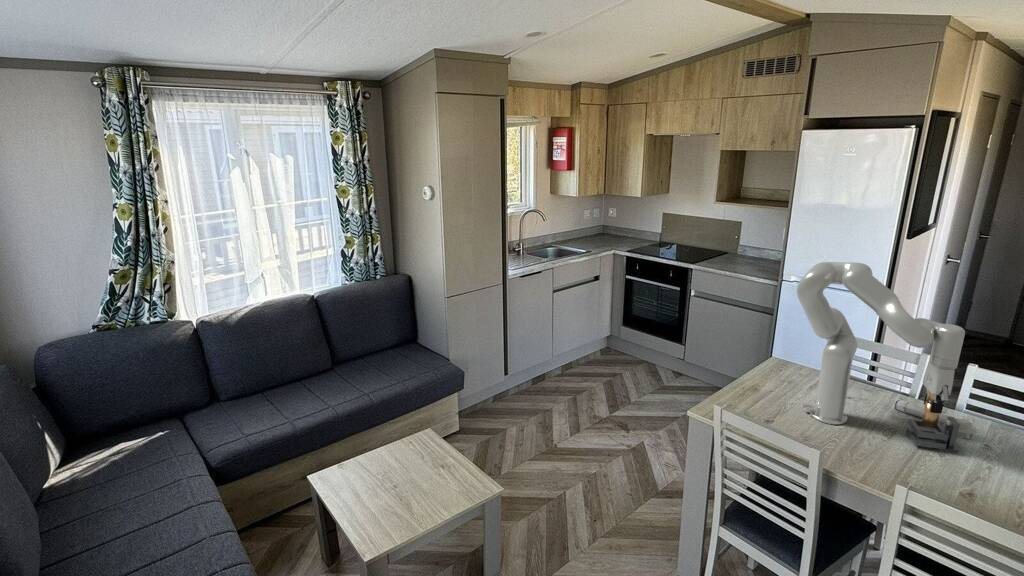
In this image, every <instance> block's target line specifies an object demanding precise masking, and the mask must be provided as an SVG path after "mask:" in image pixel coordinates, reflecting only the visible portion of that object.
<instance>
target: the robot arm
mask: <svg viewBox="0 0 1024 576" xmlns="http://www.w3.org/2000/svg"><path fill="white" fill-rule="evenodd" d="M830 285H843V287H845V288H846V289H847V290H848V291H849V292H850V293H852V294H853V295H854V296H855V297H857V298H858V299H860V301H862V303H864V304H865V305H867V306H868V307H869V308H870V309H871V310H873V311H874V312H875V314H876V315H877V316H878V317H879V318H880V319H881V320H882V322H883V323H884V324H885V325H886V326H887V327H888V328H889V329H890V330H891V331H892V332H893V333H894V334H895V335H897V336H898V337H899V338H901V339H902V340H903V341H904V342H906V343H907V344H909V345H910V346H912V347H914V348H917V349H918V348H919V349H921V348H922V349H923V348H927V347H929V346H930V345H932V347H931V351H930V354H929V359H928V363H927V365H926V368H925V372H924V375H923V379H922V385H923V386H924V387H925V388H926V390H925V397H924V401H923V405H924V406H925V403H926V399H927V394H928V390H929V391H930V392H931V394H933V395H934V401H932V404H931V408H930V412H931V413H940V414H943V413H942V412H943V408H944V404H945V403H946V402H948V401H949V396H951V393H952V390H953V385H954V379H955V378H954V377H955V369H957V368H958V365H959V361H960V356H961V352H962V348H963V344H964V340H965V339H964V338H965V335H966V330H965V329H964V328H963V327H961V326H959V325H957V324H952V323H951V324H950V323H942V322H938V321H935V320H932V319H928V318H923V317H918V318H914V317H913V316H912V315H910V314H909V312H908V311H906V309H905V308H904V306H903V305H902V303H901V301H900V299H899V297H898V295H896V293H895V292H894V291H892V290H891V289H890V288H888V286H886V285H884V284H883V283H882V282H881V281H880V280H879V279H877V278H876V277H875V276H874V275H873V270H872V269H871V267H870V266H868V265H867V264H865V263H862V262H847V261H844V262H843V261H841V262H840V261H839V262H838V261H837V262H836V261H823V262H818V263H816V264H815V265H813V266H812V267H811V268H810V269H809V270H808V271H807V272H806V273H805V274H804V275H803V276H802V278H801V279H800V280H799V282H798V284H797V288H796V289H797V290H796V295H797V298H798V300H799V303H800V305H801V306H802V309H803V311H804V313H805V315H806V317H807V320H808V321H809V324H810V326H811V328H812V330H813V332H814V334H815V335H816V336H817V337H818V338H821V339H823V340H826V344H825V345H824V348H823V350H822V355H821V365H820V366H821V367H820V374H819V380H818V381H819V382H818V385H817V386H818V387H817V394H816V400H813V402H811V403H808V402H801V408H803V409H804V408H805V410H806V411H808V412H809V415H810V416H811V417H812V418H813V419H815V420H816V421H819V422H822V423H824V424H827V425H828V424H830V425H843V424H845V423H847V422H848V415H847V414H846V413H845V412H844V411H845V408H846V407H845V406H846V400H847V395H848V390H849V384H850V378H851V372H852V365H853V360H854V357H855V355H856V353H857V350H858V342H857V341H858V340H857V338H856V337H855V335H854V333H853V331H852V329H851V326H850V324H849V323H848V320H847V319H846V317H845V315H844V314H843V313H842V311H841V310H840V309H837V308H835V307H832V306H831V305H830V303H829V301H828V299H827V298H826V296H825V295H824V290H826V289H827V288H828V287H829V286H830ZM939 393H942V394H939ZM938 396H942V397H941V398H938V399H937V397H938Z"/></svg>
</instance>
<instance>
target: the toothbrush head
mask: <svg viewBox="0 0 1024 576" xmlns="http://www.w3.org/2000/svg"><path fill="white" fill-rule="evenodd" d="M924 408H925V407H922V406H919V405H916V404H913V403H911V402H909V401H907V402H906V401H902V400H899V399H898V400H896V401H895V403H894V409H895V411H898V412H902V413H904V414H908V415H912V416H916V417H919V418H922V416H923V412H924ZM948 417H951V416H949V415H946V414H944V413H941V414H940V415H939V419H938V422H939V424H944V425H946V423H945V422H946V420H947V418H948ZM954 418H955V417H954ZM955 420H956V421H957V422H958V423H959V424H960V426H959V430H958V434H957V436H958V437H957V438H960V437H961V439H963V438H965V439H968V440H971V439H973V438H974V434H975V433H976V430H975V429H974V428H973V425H972V422H971V421H970V420H968V419H964V418H955Z"/></svg>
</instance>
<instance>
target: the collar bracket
mask: <svg viewBox="0 0 1024 576" xmlns="http://www.w3.org/2000/svg"><path fill="white" fill-rule="evenodd" d="M921 421H922V419H916V418H908V421H907V424H908V426H907V427H906V431H905V432H906V434H907V436H908V437H909V438H910V440H911V441H912V442H913V444H914V445H915V446H917V447H918V446H919V447H924V448H925V447H926V448H933V449H941V450H945V451H946V452H949V453H956V454H958V453H959V451H960V450H959V448H958V447H957V446H956V442H957V438H958V437H957V434H958V430H959V426H960V424H959V423H958V422H957V421H956V420H955V417H954V416H950V417H948V418H947V420H946V422H945V423H946V424H945V426H942V425H941V423H940V422H938V424H937V427H936V428H934V429H928V428H927V427H926V426H924V425H922V424H921ZM921 427H923V428H921ZM926 428H927V429H926ZM922 438H923V439H922ZM924 438H926V439H924ZM929 439H933V440H929Z"/></svg>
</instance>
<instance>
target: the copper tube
mask: <svg viewBox="0 0 1024 576" xmlns="http://www.w3.org/2000/svg"><path fill="white" fill-rule="evenodd" d="M939 394H942V393H939ZM941 397H942V396H938V397H937V399H938V398H941ZM932 401H934V395H933V394H931V392H930V391H929V390H928V394H927V399H926V403H925V405H924V407H923V408H924V412H923V416H922V417H921V420H922V421H921V424H922V425H924V426H926V427H925V428H931V429H935V428H936V427H937V424H938V419H939V415H940V413H931V412H930V408H931V404H932Z"/></svg>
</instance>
